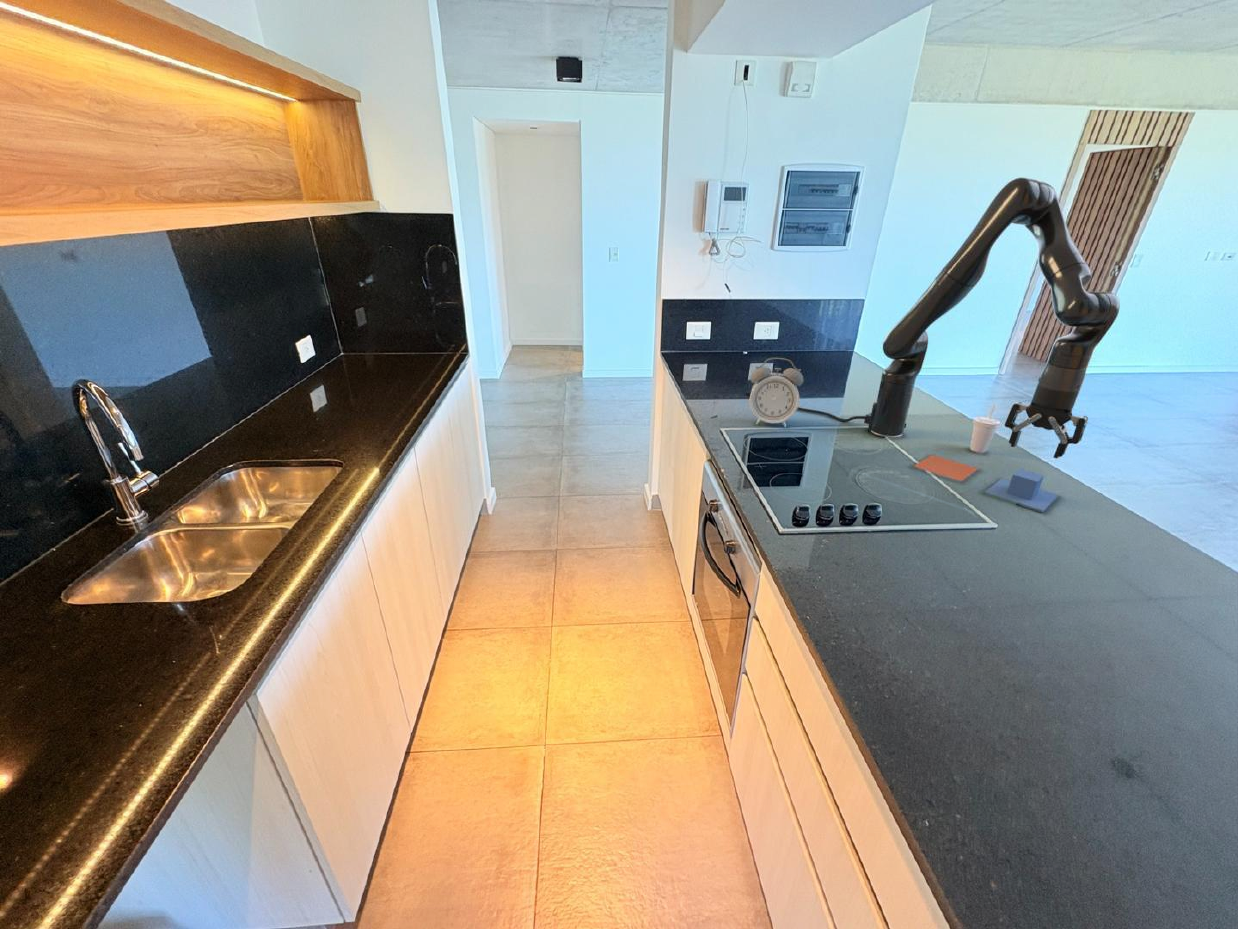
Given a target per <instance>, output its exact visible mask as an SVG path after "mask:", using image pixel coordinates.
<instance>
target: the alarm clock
mask: <svg viewBox="0 0 1238 929" xmlns="http://www.w3.org/2000/svg"><path fill="white" fill-rule="evenodd" d="M771 360H782V361H787V362H789V363H790V364H791V365H792V367H793V368H792V367H789V368H786V369H784V370H783V372H782V373H780V372H779V371H781V370H782V368H781V367H775V368H774V370H775V371H776V372H773V371H772V369H771V368H770V367H768V366H764V365H765V364H766V363H767V362H768V361H771ZM754 367H755V369H754V370H753V371H752V372H751V374H750V377H749V378H750V382H751V384H753V385H752V387H751V391H750V392H751V395H749V406H750V410H751V412H752V413H753V415H754V416H755V417H756V418H757V421H756V423H755V424H756V425H758V424H759V423H761V421H762V422H764V423H768V424H781V423H782V425H783V426H784V428H787V424H786V421H788V420H789V419H791V418H792V417H793V416H794V415H795V413H796V412H797V411H798V410H797V408H798V407H799V405H800V393H799V389H798V387H801V386H802V385H803V383H804V376H803V374H802V373H801V371H802V369H801V368H799V369H798V368H797V367H795V365H794V362H793V361H792V360H790V359H788V358H785V357H770V358H767V359H765V360H764V362H763V363H762V364H761V365H759V366H754Z"/></svg>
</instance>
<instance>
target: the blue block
mask: <svg viewBox="0 0 1238 929" xmlns="http://www.w3.org/2000/svg"><path fill="white" fill-rule="evenodd" d="M1044 477H1045V475H1043V474H1039V473H1035V472H1031V471H1028V470H1024V469H1021V468H1019V469H1018V470H1017V471H1016V472H1014V473H1013V474H1012V476H1011V479H1010V481H1011V482H1010V485H1009V488H1008V490H1007V493H1009V494H1012V495H1015V496H1018V497H1022V498H1025V499H1028V500H1032V499H1033V498H1034V497H1035V496H1036V495H1037V493H1038V491H1039V489H1040V488H1041V485H1042V482H1043V479H1044Z"/></svg>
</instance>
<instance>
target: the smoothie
mask: <svg viewBox="0 0 1238 929" xmlns="http://www.w3.org/2000/svg"><path fill="white" fill-rule="evenodd" d="M994 411H995V405H992V406H991V408H990V412H989V416H988V417H987V416H977V417H976V416H975V417H974V418H973V421H972V423H973V429H972V435H971V441H970V448H969V449H970V450H971V451H973V452H976V453H982V454H983V453H987V451H988V448H989V446H990V444H991V442H992V439H993V438H994V436H995V433H996V432H997V429H998V428H999V427H1000V426H1001V421H1000V420H998V419H995V418H992V417H993V414H994Z"/></svg>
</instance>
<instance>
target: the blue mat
mask: <svg viewBox="0 0 1238 929" xmlns="http://www.w3.org/2000/svg"><path fill="white" fill-rule="evenodd" d="M1010 482H1011V480H1009V479H1007V478H1000V479H999V480H998V481H996V482H995V483H994V484H993V485H991V486H990V487H989V488H988V489H987V490H985V491H984V493H985V494H989V495H992V496H995V497H999V498H1001V499H1005V500H1008V501H1011V502H1014V503H1016V505H1017V506H1020V507H1023V508H1026V509H1029V510H1032V511H1035V512H1039V513H1042V514H1043V513H1044V512H1045V511H1046V510H1047V509H1048V508H1049V507H1050V506H1051V505H1052V504H1053V503H1054V502H1055V501H1056V499H1058V497H1059V494H1056V493H1054V492H1050V491H1046V490H1043V489H1040V488H1039V491H1038V493H1037V495H1036V496H1035V497H1034V498H1033V499H1032V500H1028V499H1025V498H1022V497H1018V496H1015V495H1012V494H1009V493H1007V490H1008V488H1009V485H1010Z"/></svg>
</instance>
